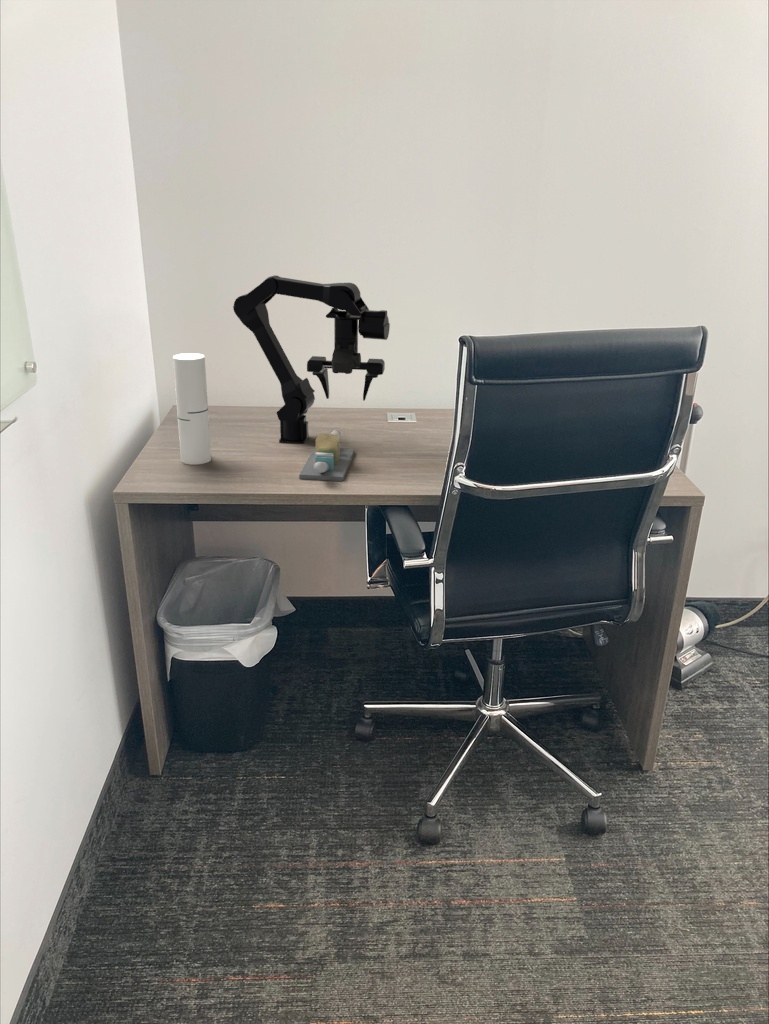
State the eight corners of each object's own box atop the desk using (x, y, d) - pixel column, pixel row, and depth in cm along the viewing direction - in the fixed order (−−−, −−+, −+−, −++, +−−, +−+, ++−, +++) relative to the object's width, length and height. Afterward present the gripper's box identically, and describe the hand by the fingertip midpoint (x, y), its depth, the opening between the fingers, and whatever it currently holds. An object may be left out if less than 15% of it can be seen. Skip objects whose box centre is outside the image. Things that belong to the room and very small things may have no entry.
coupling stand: (296, 483, 182) (296, 461, 180) (316, 447, 205) (316, 427, 203) (340, 485, 181) (340, 464, 179) (355, 449, 205) (356, 429, 203)
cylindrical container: (210, 464, 192) (203, 359, 182) (180, 465, 191) (171, 360, 181) (211, 454, 198) (205, 352, 189) (181, 455, 197) (173, 353, 188)
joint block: (315, 464, 191) (315, 440, 188) (319, 457, 195) (319, 433, 193) (336, 465, 190) (336, 441, 188) (339, 458, 195) (339, 434, 192)
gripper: (302, 341, 190) (303, 406, 196) (380, 345, 189) (379, 409, 195) (310, 333, 200) (311, 394, 206) (385, 336, 199) (384, 397, 205)
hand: (345, 399), depth 203 cm, fingers open, 9 cm apart
